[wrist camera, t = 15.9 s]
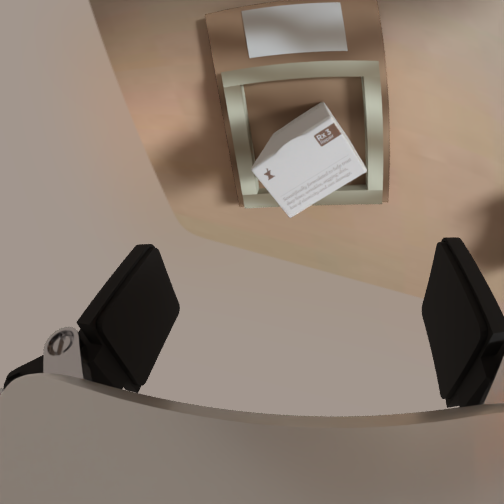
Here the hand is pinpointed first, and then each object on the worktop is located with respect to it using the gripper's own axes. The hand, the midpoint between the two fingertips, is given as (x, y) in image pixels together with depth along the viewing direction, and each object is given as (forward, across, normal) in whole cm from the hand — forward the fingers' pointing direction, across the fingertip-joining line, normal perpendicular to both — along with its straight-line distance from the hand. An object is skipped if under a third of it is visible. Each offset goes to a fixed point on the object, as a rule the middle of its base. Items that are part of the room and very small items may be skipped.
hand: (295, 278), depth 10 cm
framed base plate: (+23, 0, -3) cm, 23 cm away
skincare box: (+22, 0, 0) cm, 22 cm away
